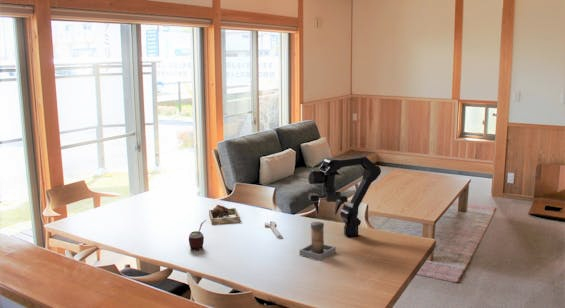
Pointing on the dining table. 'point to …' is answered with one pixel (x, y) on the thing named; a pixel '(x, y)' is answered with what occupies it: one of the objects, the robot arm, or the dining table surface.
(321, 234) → the walnut canister
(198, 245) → the mate gourd
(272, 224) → the adjustable wrench
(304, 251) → the tray
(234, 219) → the tray
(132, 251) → the dining table surface
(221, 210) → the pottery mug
